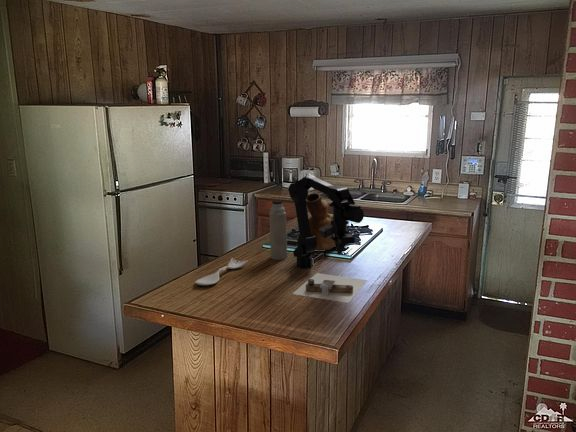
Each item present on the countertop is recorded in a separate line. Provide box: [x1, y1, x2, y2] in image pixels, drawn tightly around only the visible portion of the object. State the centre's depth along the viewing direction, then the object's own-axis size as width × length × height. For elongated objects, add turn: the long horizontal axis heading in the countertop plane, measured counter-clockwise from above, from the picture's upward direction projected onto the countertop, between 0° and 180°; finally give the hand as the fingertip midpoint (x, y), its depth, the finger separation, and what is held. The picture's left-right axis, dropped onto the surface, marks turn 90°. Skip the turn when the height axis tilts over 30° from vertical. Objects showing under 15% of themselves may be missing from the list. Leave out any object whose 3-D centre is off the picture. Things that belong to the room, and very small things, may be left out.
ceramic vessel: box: [306, 193, 335, 250], centre depth 244 cm, size 16×22×30 cm
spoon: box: [194, 257, 249, 286], centre depth 215 cm, size 9×32×4 cm, turn 154°
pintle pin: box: [307, 278, 314, 285], centre depth 193 cm, size 2×2×2 cm
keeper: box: [320, 280, 335, 296], centre depth 191 cm, size 5×8×4 cm
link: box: [306, 283, 353, 293], centre depth 192 cm, size 19×4×2 cm, turn 80°
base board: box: [292, 272, 369, 304], centre depth 197 cm, size 23×25×1 cm
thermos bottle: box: [268, 200, 288, 261], centre depth 235 cm, size 8×8×28 cm
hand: (339, 254), depth 203 cm, fingers closed
